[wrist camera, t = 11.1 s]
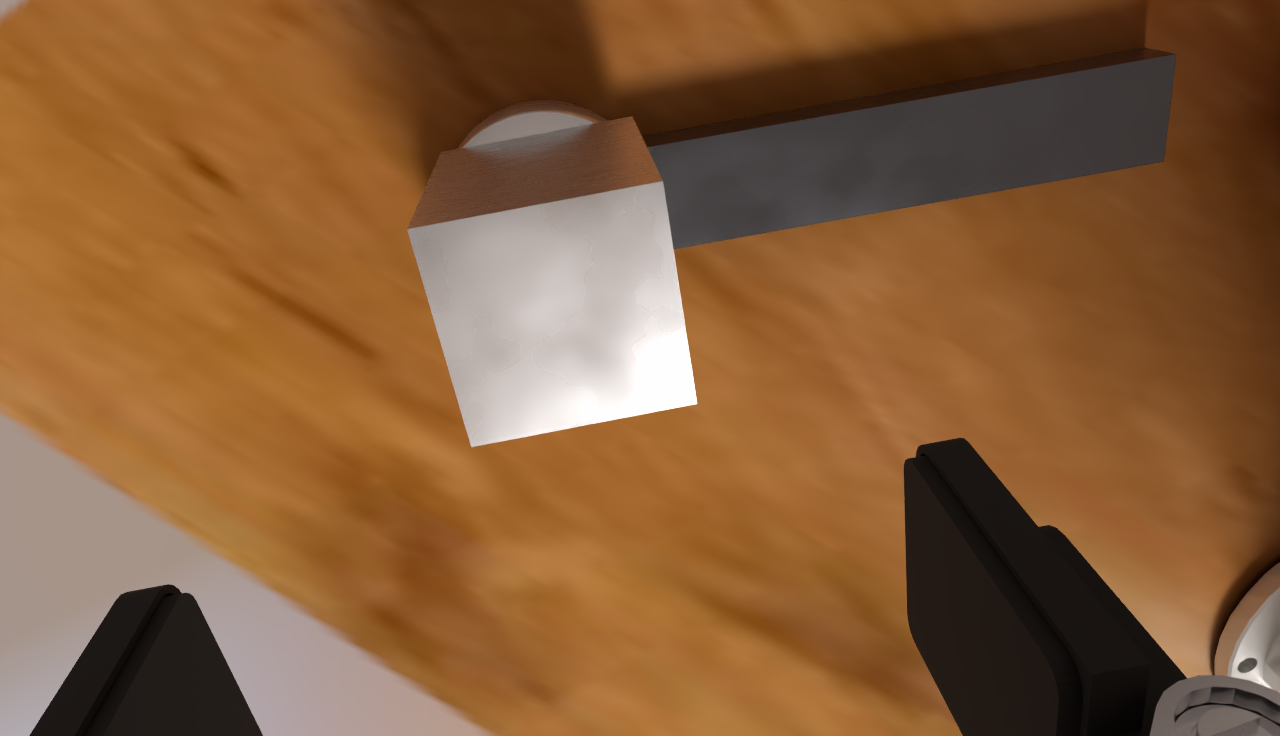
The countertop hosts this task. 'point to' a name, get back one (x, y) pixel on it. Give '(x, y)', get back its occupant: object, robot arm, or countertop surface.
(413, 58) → the countertop surface
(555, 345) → the white block
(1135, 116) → the ratchet
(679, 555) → the countertop surface
